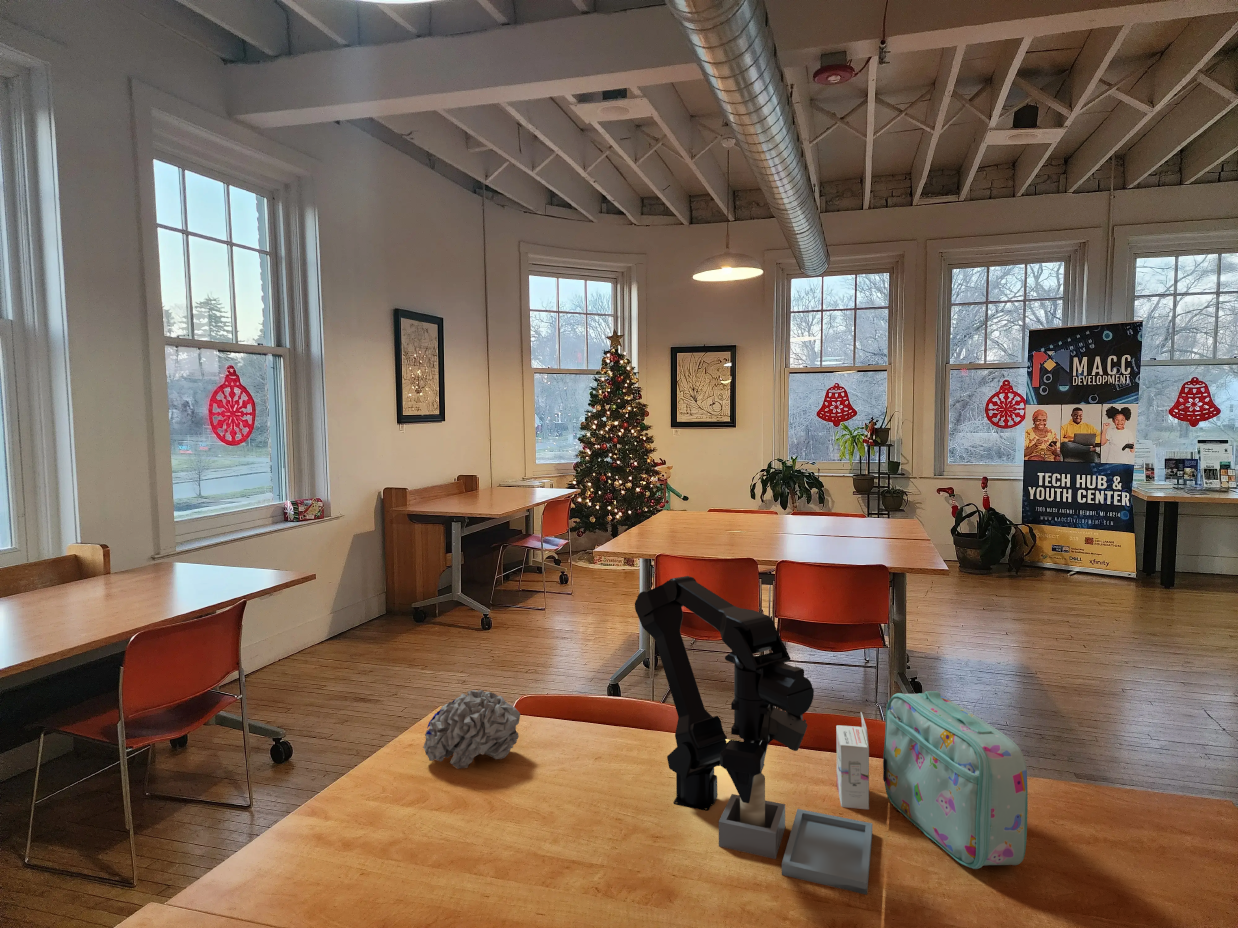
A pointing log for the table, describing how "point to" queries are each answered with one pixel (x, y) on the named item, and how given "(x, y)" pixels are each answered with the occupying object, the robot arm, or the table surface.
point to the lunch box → (956, 779)
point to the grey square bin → (752, 829)
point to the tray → (829, 851)
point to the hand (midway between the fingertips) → (752, 787)
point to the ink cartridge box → (853, 766)
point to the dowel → (755, 804)
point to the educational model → (472, 729)
